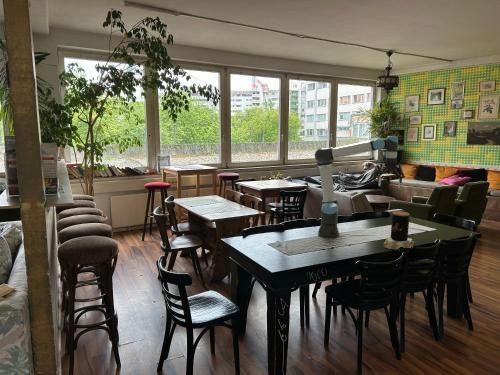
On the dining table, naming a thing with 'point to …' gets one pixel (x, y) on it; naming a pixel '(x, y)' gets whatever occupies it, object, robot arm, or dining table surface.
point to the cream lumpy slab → (398, 243)
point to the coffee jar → (400, 226)
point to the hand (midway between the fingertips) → (389, 186)
